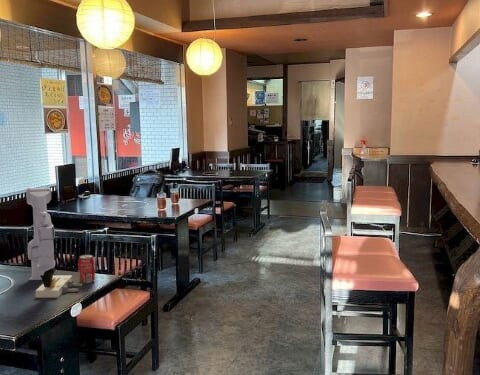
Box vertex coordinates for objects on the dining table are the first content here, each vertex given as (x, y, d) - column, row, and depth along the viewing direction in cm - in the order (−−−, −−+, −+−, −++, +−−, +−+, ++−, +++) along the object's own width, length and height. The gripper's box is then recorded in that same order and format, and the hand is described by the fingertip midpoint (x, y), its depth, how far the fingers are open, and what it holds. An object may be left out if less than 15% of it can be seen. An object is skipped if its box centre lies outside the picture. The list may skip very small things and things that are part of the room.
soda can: (87, 278, 215) (86, 253, 214) (98, 280, 212) (97, 255, 210) (75, 282, 209) (74, 256, 208) (86, 285, 206) (85, 259, 204)
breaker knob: (48, 284, 195) (47, 277, 195) (55, 284, 196) (55, 277, 195) (45, 286, 193) (45, 279, 193) (53, 286, 193) (53, 279, 193)
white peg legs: (69, 285, 205) (69, 280, 204) (82, 285, 205) (82, 280, 205) (62, 292, 196) (62, 287, 195) (77, 292, 196) (76, 287, 196)
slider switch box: (52, 281, 209) (52, 275, 209) (72, 281, 210) (72, 275, 210) (35, 297, 190) (35, 290, 189) (58, 297, 190) (57, 290, 190)
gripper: (42, 250, 196) (44, 281, 197) (29, 260, 181) (30, 293, 183) (59, 250, 196) (60, 281, 198) (47, 259, 182) (48, 292, 183)
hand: (47, 286), depth 190 cm, fingers closed
